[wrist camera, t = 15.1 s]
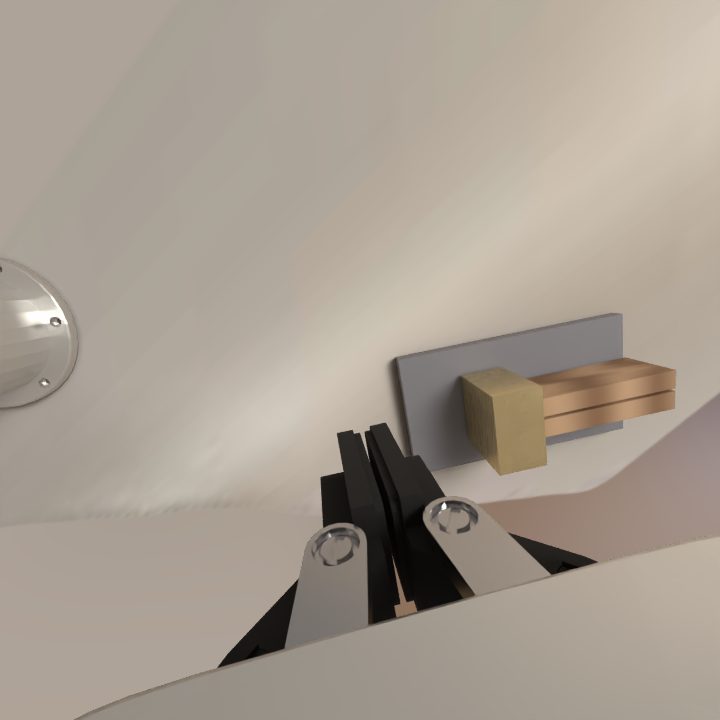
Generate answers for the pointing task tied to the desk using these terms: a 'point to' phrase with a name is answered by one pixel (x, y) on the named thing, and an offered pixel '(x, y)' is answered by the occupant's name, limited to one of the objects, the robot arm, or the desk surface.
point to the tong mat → (512, 351)
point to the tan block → (505, 419)
